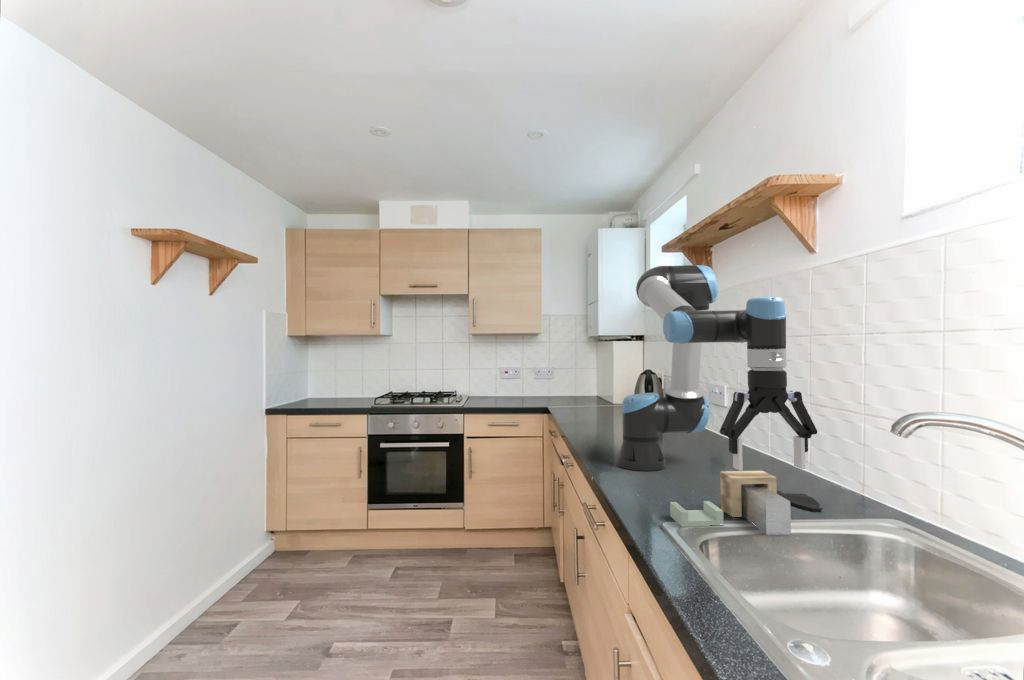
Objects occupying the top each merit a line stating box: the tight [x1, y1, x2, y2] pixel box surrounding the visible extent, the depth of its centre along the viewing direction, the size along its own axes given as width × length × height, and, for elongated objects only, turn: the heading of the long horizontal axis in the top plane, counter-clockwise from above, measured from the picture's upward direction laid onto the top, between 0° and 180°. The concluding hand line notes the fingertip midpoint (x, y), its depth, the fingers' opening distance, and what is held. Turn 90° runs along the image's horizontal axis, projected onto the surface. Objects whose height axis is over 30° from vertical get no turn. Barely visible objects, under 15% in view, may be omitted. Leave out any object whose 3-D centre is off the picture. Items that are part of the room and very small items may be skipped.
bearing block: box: [719, 470, 778, 518], centre depth 116 cm, size 6×10×9 cm, turn 92°
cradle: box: [669, 500, 724, 528], centre depth 111 cm, size 7×9×3 cm
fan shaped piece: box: [777, 490, 824, 513], centre depth 122 cm, size 8×14×2 cm, turn 172°
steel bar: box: [741, 484, 792, 536], centre depth 111 cm, size 17×5×7 cm, turn 179°
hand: (768, 468), depth 107 cm, fingers open, 13 cm apart
